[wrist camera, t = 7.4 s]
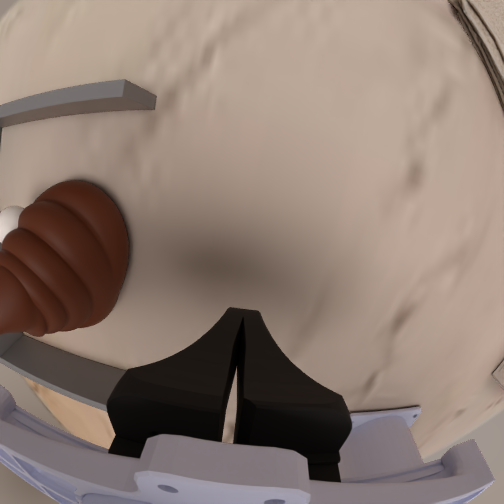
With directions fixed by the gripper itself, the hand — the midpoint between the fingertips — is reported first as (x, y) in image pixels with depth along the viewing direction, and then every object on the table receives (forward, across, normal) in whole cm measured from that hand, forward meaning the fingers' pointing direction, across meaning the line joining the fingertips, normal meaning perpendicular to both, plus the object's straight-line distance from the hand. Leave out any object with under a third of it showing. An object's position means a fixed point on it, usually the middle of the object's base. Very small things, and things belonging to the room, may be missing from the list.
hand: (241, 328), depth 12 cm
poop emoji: (+5, +11, 0) cm, 12 cm away
